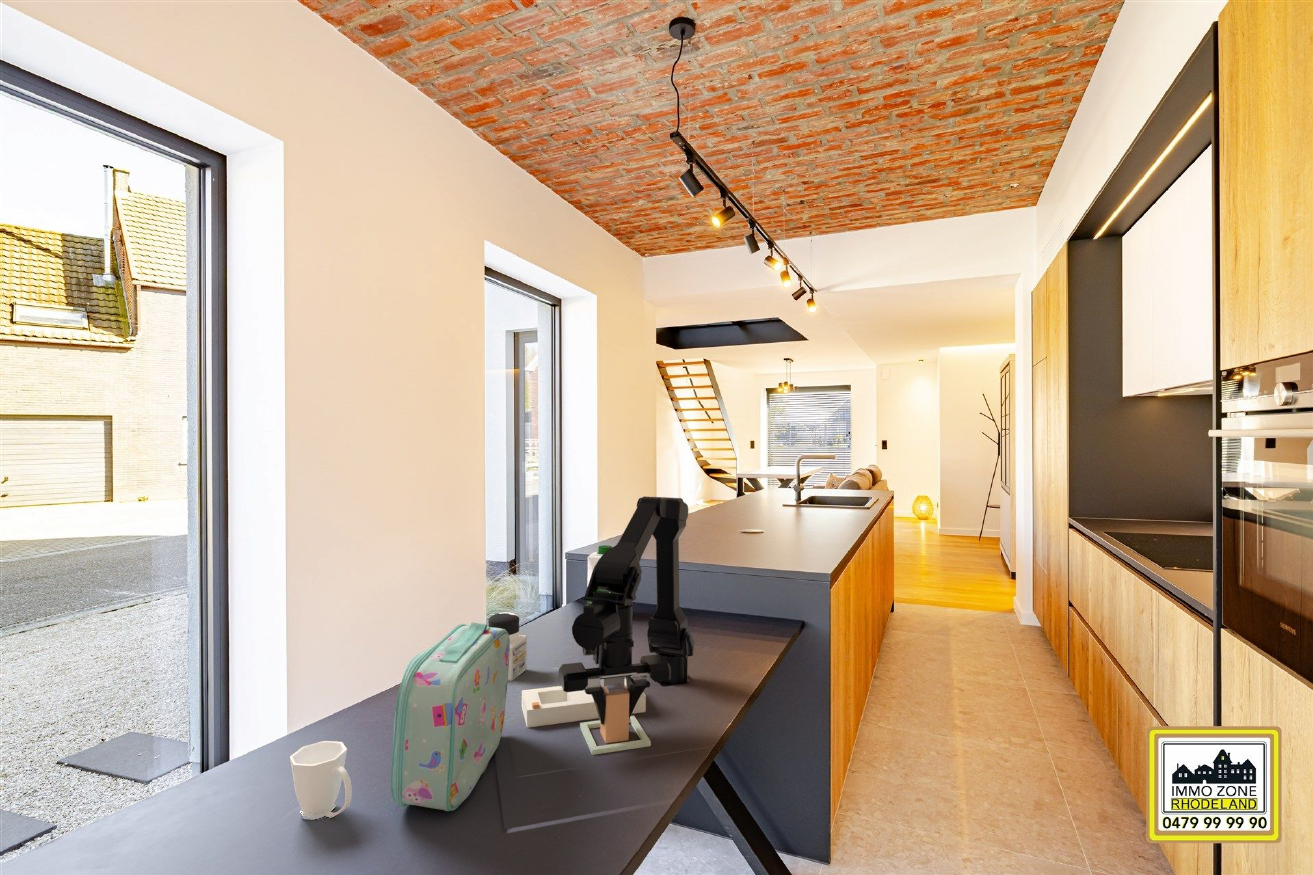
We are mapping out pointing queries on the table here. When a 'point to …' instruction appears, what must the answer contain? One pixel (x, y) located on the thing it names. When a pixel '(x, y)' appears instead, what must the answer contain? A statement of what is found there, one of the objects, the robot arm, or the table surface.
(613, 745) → the tray
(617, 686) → the plug
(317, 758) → the cup
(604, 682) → the twin plug
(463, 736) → the lunch box
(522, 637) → the container
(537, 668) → the table surface
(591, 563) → the milk carton
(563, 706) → the outlet strip
